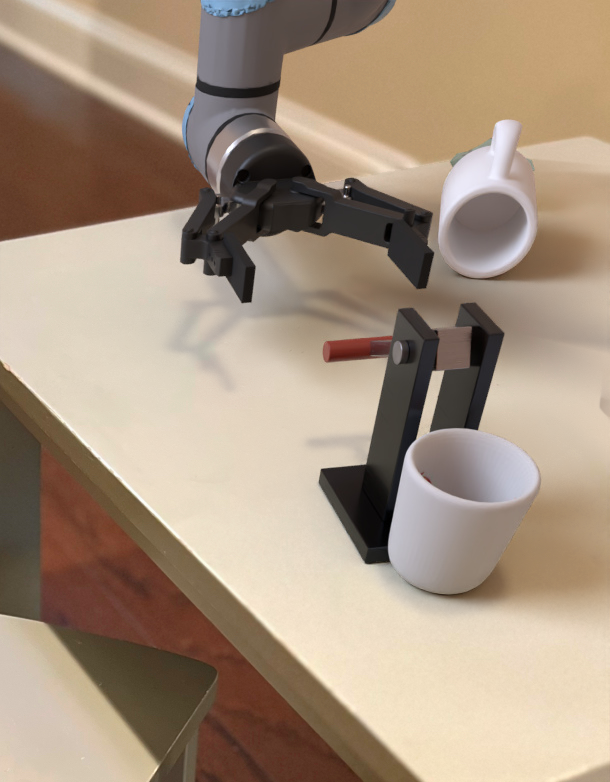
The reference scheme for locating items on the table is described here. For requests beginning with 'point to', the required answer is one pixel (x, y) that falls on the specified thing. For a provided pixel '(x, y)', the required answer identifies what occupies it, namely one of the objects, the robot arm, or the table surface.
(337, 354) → the lever
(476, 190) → the mug
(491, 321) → the bracket
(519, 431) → the table surface
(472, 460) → the cup
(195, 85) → the robot arm
